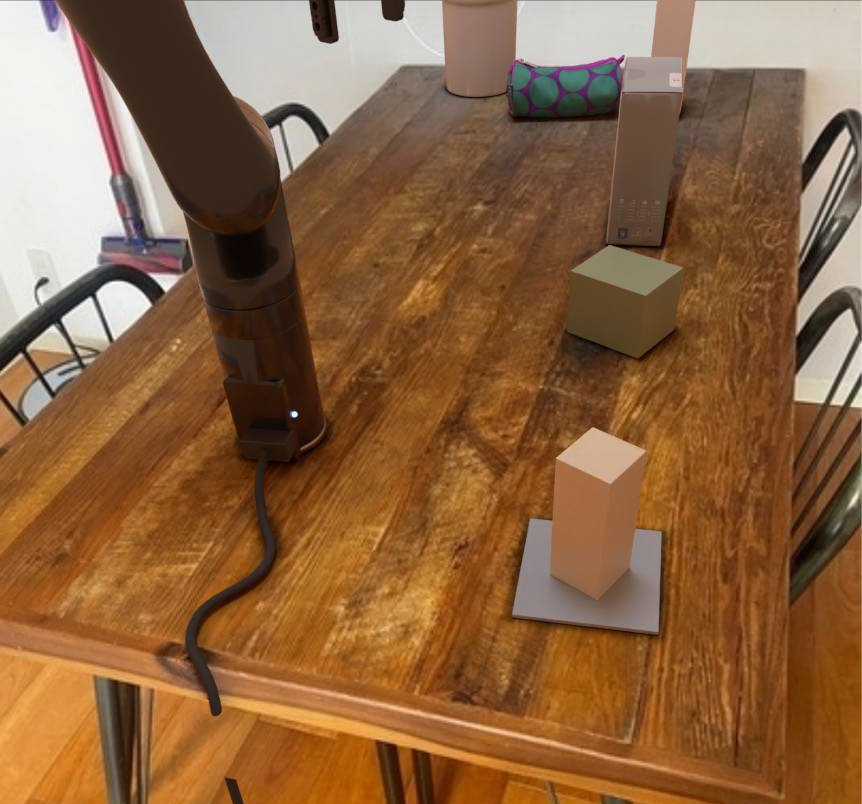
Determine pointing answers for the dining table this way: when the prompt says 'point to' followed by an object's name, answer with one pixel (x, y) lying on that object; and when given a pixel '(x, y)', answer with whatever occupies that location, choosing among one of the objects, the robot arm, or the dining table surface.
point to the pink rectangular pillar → (673, 31)
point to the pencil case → (564, 89)
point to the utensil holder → (479, 45)
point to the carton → (595, 511)
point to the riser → (624, 300)
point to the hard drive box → (644, 149)
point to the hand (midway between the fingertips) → (361, 30)
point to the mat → (561, 603)
